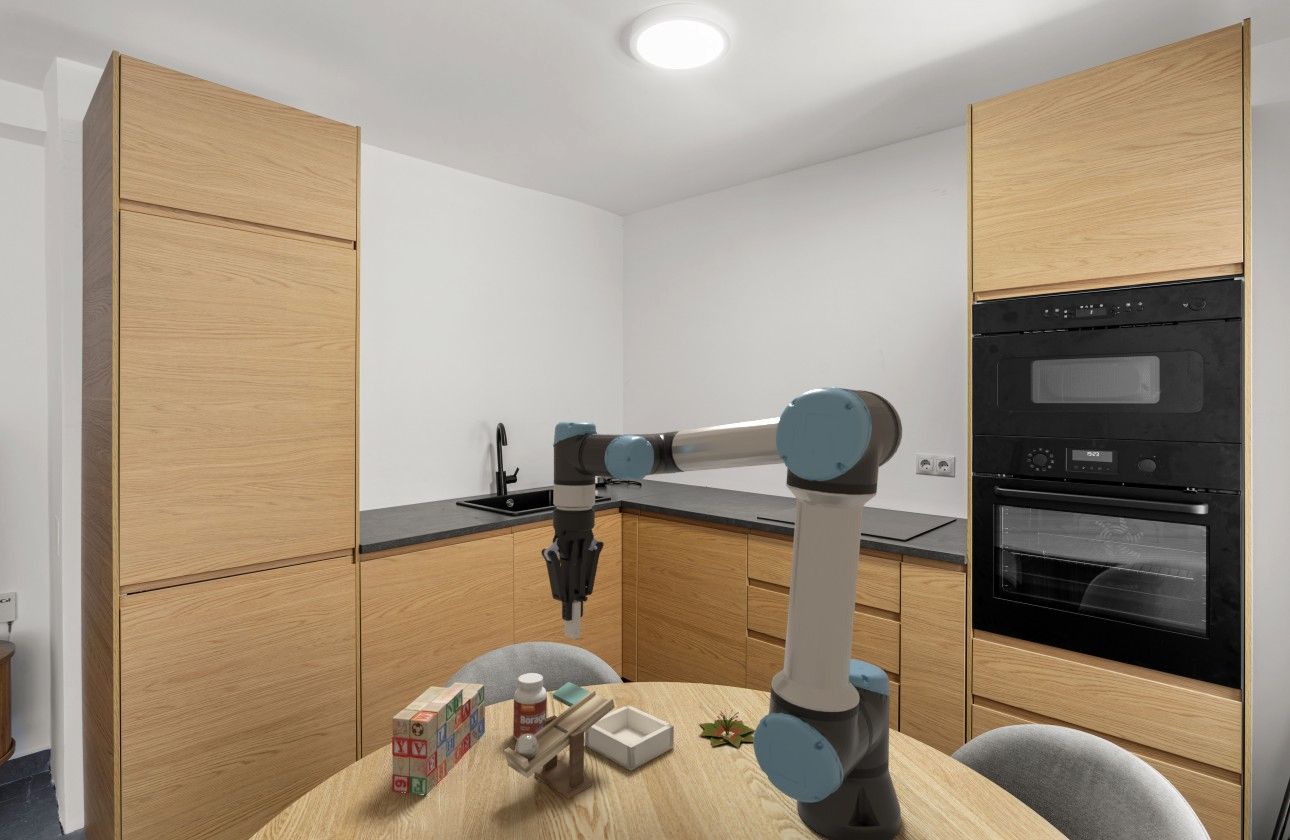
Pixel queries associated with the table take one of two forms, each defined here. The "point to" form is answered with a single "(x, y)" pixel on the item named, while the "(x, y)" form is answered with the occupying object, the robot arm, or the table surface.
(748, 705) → the table surface
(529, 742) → the ball
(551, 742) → the lever
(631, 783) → the table surface
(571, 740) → the fulcrum
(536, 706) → the pill bottle
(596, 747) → the white square tray
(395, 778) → the stack of blocks
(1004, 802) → the table surface
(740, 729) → the lily flower
